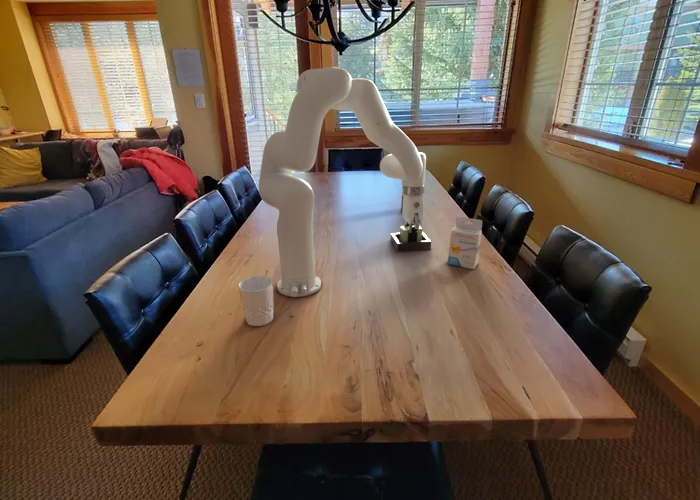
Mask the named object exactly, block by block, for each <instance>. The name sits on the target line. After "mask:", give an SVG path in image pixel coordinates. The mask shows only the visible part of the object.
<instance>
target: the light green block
mask: <svg viewBox="0 0 700 500" xmlns="http://www.w3.org/2000/svg"><path fill="white" fill-rule="evenodd" d="M412 227H414V226H412ZM408 232H409V226H404V225H401V226H399V233H400V241H401V242H408ZM422 232H423V227H421V225H419V229H418V234H417V241H422Z"/></svg>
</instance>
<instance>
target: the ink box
mask: <svg viewBox="0 0 700 500" xmlns="http://www.w3.org/2000/svg"><path fill="white" fill-rule="evenodd" d="M467 222H469V223H467ZM482 229H483V220H482V219H476V218H470V217H463V216H456V217H455V225H454V227H453V228H452V229H451V230H450V239H449V247H448V257H447V264H448V265H452V266H455V267H461V268H464V269H470V270H475V268H476V267H477V265H478V261H479V254H480V247H481V239H482V233H483V230H482Z"/></svg>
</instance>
